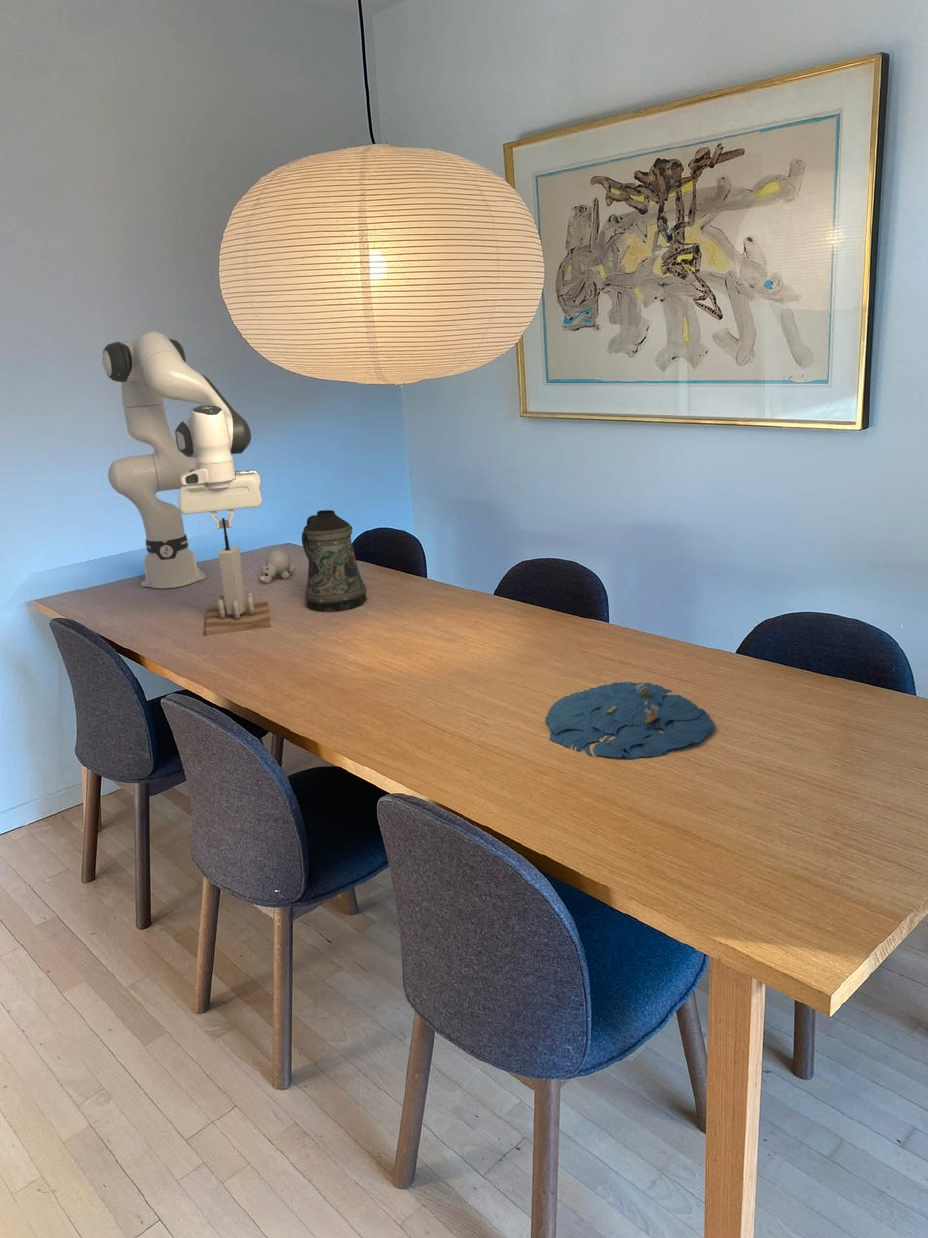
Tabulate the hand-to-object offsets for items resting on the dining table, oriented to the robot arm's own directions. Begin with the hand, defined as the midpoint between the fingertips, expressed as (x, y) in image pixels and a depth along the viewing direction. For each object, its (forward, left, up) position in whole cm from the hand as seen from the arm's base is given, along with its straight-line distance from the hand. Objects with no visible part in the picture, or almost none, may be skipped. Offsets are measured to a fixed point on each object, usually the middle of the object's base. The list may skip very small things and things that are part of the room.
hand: (224, 527), depth 225 cm
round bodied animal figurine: (-35, +12, -25) cm, 45 cm away
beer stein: (-4, +25, -25) cm, 35 cm away
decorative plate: (+94, +68, -25) cm, 119 cm away
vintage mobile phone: (+1, 0, -22) cm, 23 cm away
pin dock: (0, 0, -24) cm, 24 cm away
